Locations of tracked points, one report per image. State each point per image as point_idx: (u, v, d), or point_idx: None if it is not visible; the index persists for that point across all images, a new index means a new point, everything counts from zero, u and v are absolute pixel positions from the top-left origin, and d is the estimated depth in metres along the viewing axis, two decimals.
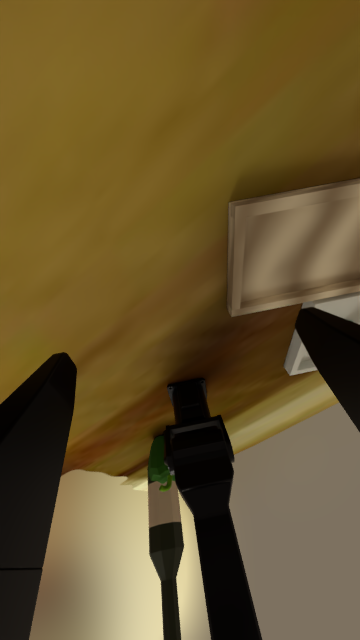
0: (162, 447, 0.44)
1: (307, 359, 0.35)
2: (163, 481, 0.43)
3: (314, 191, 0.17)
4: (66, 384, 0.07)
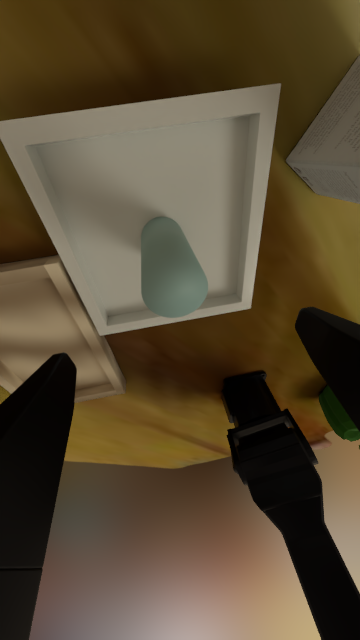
0: (325, 409, 0.36)
1: (234, 269, 0.19)
2: None
3: None
4: (66, 384, 0.07)
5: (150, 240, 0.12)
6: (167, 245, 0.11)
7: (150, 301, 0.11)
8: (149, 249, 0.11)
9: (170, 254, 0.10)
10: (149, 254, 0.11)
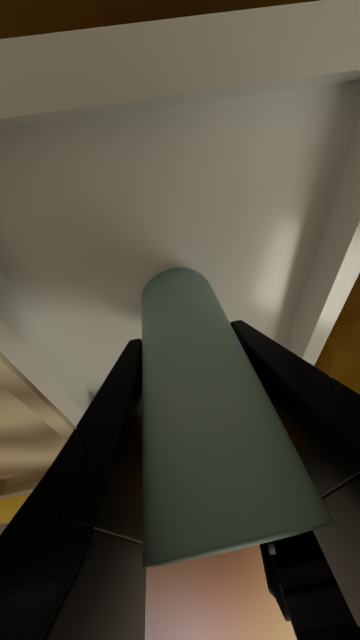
0: None
1: (285, 334, 0.13)
2: None
3: None
4: None
5: (162, 349, 0.06)
6: (211, 402, 0.04)
7: (167, 562, 0.04)
8: (162, 390, 0.05)
9: (235, 480, 0.03)
10: (163, 421, 0.04)
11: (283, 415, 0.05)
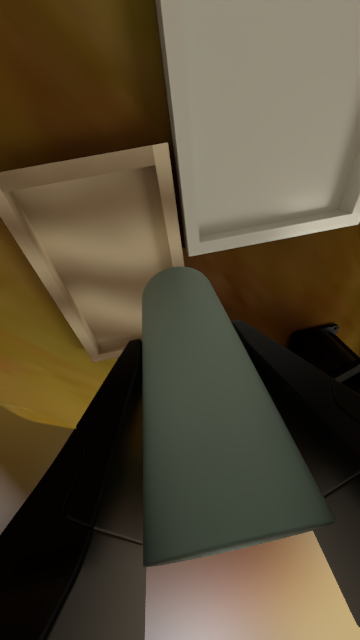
0: None
1: (347, 173, 0.17)
2: None
3: None
4: None
5: (162, 347, 0.06)
6: (212, 400, 0.04)
7: (168, 562, 0.04)
8: (162, 389, 0.05)
9: (237, 478, 0.03)
10: (164, 419, 0.04)
11: (283, 415, 0.05)
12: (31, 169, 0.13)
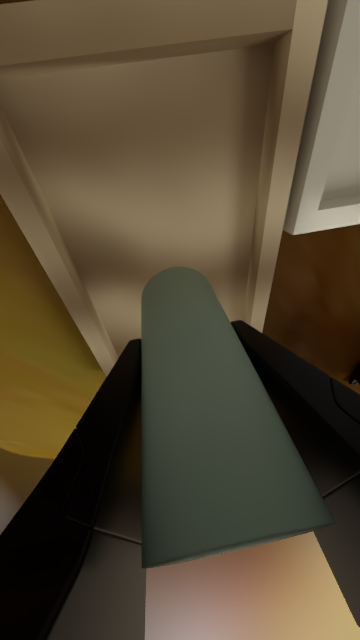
0: None
1: None
2: None
3: None
4: None
5: (162, 348, 0.06)
6: (211, 401, 0.04)
7: (167, 563, 0.04)
8: (161, 389, 0.05)
9: (235, 480, 0.03)
10: (163, 420, 0.04)
11: (283, 415, 0.05)
12: (31, 9, 0.06)
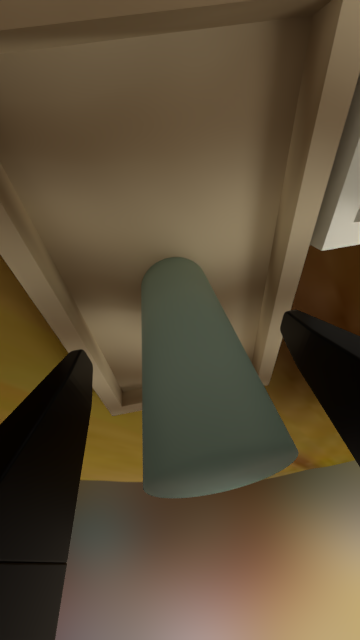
0: None
1: None
2: None
3: None
4: (84, 380, 0.07)
5: (159, 323, 0.06)
6: (200, 359, 0.05)
7: (163, 491, 0.05)
8: (159, 355, 0.06)
9: (217, 412, 0.04)
10: (160, 377, 0.05)
11: None
12: None
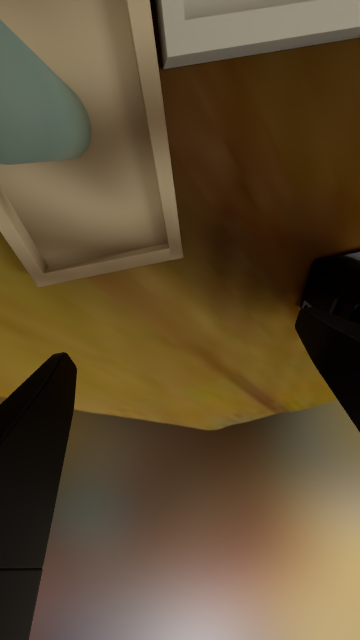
0: None
1: None
2: None
3: None
4: (66, 384, 0.07)
5: None
6: None
7: None
8: None
9: None
10: None
11: None
12: None
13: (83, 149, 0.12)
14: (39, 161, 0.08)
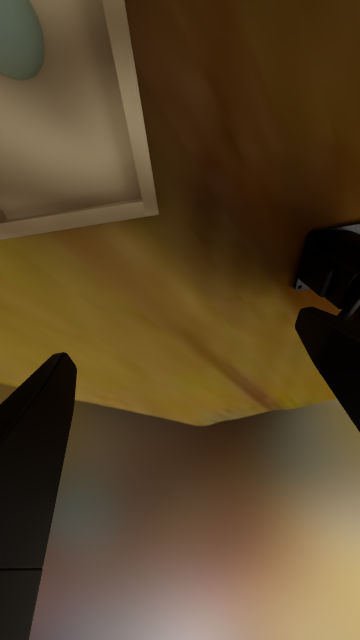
0: None
1: None
2: None
3: None
4: (66, 384, 0.07)
5: None
6: None
7: None
8: None
9: None
10: None
11: None
12: None
13: (33, 61, 0.10)
14: None
